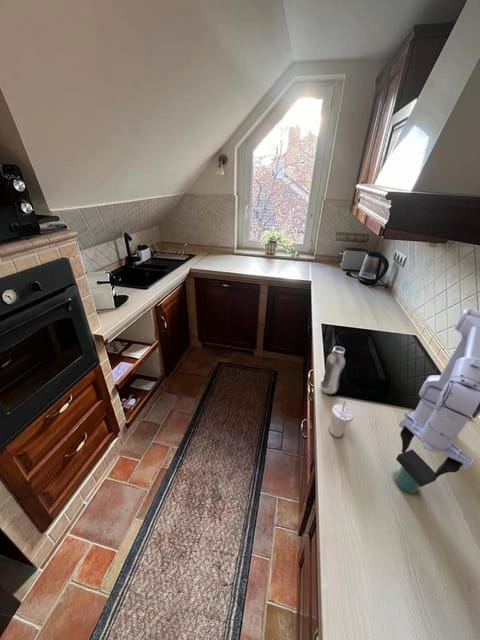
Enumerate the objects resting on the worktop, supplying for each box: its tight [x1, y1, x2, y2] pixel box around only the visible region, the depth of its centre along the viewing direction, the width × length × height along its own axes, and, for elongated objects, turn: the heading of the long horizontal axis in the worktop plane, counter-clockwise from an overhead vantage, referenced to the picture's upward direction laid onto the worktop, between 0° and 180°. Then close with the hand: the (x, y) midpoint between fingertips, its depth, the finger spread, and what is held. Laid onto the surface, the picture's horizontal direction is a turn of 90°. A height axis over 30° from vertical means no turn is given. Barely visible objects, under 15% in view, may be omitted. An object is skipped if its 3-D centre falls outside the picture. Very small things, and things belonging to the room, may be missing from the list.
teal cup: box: [394, 465, 421, 495], centre depth 68 cm, size 5×5×6 cm
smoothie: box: [329, 399, 355, 438], centre depth 80 cm, size 6×6×14 cm
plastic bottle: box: [320, 345, 346, 395], centre depth 95 cm, size 6×7×20 cm
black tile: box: [395, 448, 438, 488], centre depth 66 cm, size 8×5×2 cm, turn 19°
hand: (420, 461), depth 65 cm, fingers open, 7 cm apart
